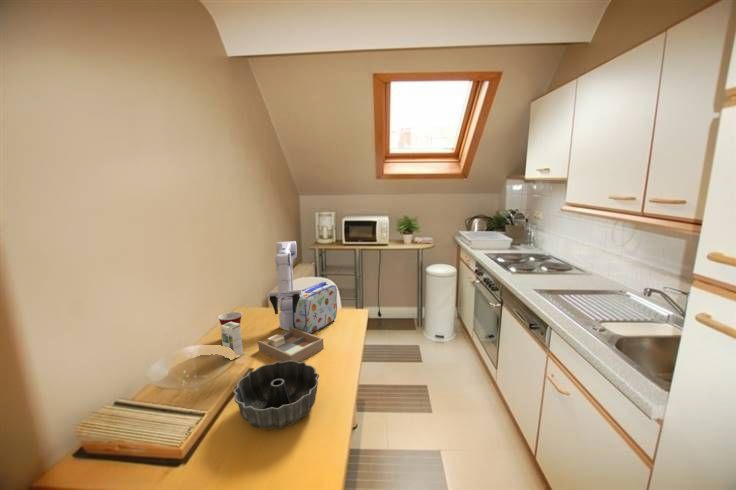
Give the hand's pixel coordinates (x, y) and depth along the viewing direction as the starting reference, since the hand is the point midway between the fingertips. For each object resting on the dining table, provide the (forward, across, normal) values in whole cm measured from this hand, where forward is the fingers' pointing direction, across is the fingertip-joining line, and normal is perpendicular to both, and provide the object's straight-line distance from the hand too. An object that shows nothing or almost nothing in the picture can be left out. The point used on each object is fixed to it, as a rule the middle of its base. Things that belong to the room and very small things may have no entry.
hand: (285, 313), depth 142 cm
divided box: (+16, 0, +8) cm, 18 cm away
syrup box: (+16, -24, +4) cm, 29 cm away
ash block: (+13, -6, +8) cm, 16 cm away
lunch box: (+8, +9, +30) cm, 33 cm away
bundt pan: (+30, +4, -29) cm, 42 cm away
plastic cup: (+10, -30, +20) cm, 38 cm away
